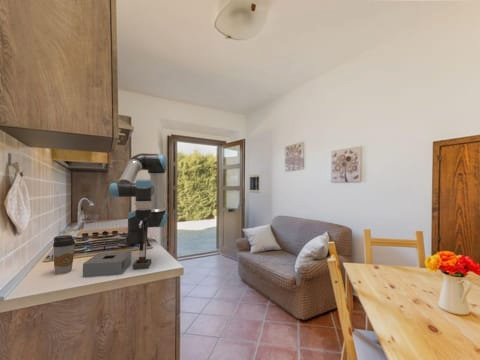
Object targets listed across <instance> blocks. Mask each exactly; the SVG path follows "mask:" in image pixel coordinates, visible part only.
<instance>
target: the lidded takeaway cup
mask: <svg viewBox="0 0 480 360" xmlns="http://www.w3.org/2000/svg"><path fill="white" fill-rule="evenodd" d="M64 238H73V234H72V235H71V234H68V235H67V234H65V235H57V236H55V237H53V242H54V241H55V240H58V239H64ZM52 250H53V251H52V260H53V261H54V249H52Z"/></svg>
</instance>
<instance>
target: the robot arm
mask: <svg viewBox="0 0 480 360" xmlns="http://www.w3.org/2000/svg"><path fill="white" fill-rule="evenodd" d="M166 157H167V156H166V155H165V154H162V153H138V154H135V155H134V156H132V157H130V158H129V159H128V160H127V162H126V165H125V166H126V167H125V168H124V171H123V173H122V174H121V176H120V178H119V180H118V181H117V182H112V183H110V185H109V188H108V193H109V196H111V197H113V198H130V197H131V198H135V202H134V205H135V206H134V208H135V210H133V211H129V212H128V214H127V234H126V236H125V239H124V244H125V245H127V244H138V258H139V257H144V256H145V243H144V239H145V232H146V243H148V242H147V241H149V238H148V233H149V232H148V230H149V229H148V228H163V227H165V226H166V223H167V217H168V211H167V210H166V207H164V175H165V174H166V171H168V161H167V158H166ZM140 171H147V174H149V177H150V179H149V178H137V176H138V173H139V172H140ZM136 178H137V179H136ZM135 180H136V181H135Z"/></svg>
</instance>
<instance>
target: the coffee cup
mask: <svg viewBox="0 0 480 360" xmlns="http://www.w3.org/2000/svg"><path fill="white" fill-rule="evenodd" d="M75 244H76V240H75V239H74V237H72V238H64V239H58V240H55V241H54V240H53V244H52V247H53V249H54V260H53V266H54V273H55V275H65V274H68V273H70V272H71V271H72V270H73V263H74V254H75ZM53 249H52V250H53Z"/></svg>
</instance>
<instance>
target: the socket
mask: <svg viewBox="0 0 480 360" xmlns="http://www.w3.org/2000/svg"><path fill="white" fill-rule="evenodd" d="M151 265H152V258H146V263H139V259H135V261H134V262H133V264H132V269H131V270H133V271H134V270H149V269H150V266H151Z"/></svg>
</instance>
